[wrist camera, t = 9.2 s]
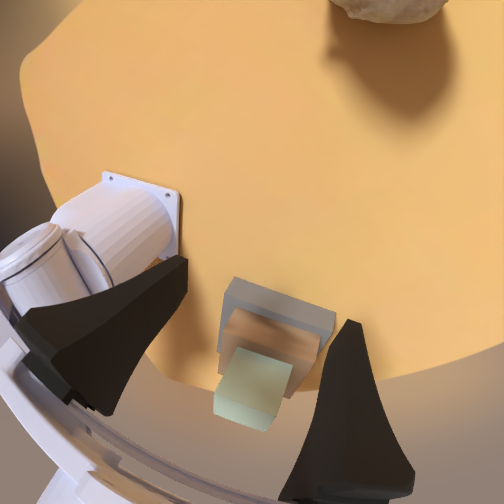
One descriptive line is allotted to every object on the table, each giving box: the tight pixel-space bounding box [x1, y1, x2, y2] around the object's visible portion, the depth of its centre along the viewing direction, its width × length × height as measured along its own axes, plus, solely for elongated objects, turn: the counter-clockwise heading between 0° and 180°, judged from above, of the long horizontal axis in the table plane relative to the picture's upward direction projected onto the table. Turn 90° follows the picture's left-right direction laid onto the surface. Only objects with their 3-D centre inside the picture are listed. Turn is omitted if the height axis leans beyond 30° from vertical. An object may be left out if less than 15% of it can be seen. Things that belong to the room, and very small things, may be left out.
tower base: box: [217, 277, 336, 357], centre depth 27 cm, size 10×10×3 cm
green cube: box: [214, 346, 293, 432], centre depth 22 cm, size 5×5×5 cm
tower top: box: [218, 307, 321, 399], centre depth 25 cm, size 8×8×3 cm
